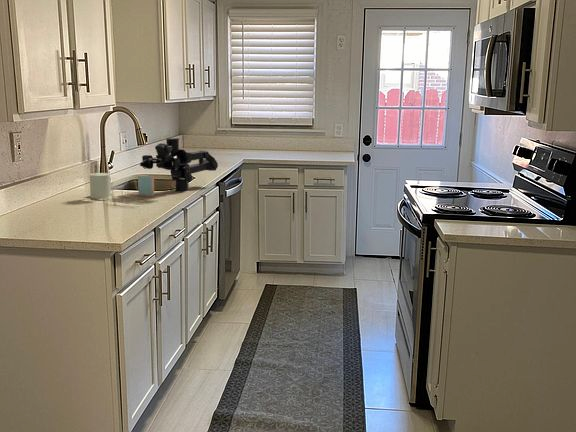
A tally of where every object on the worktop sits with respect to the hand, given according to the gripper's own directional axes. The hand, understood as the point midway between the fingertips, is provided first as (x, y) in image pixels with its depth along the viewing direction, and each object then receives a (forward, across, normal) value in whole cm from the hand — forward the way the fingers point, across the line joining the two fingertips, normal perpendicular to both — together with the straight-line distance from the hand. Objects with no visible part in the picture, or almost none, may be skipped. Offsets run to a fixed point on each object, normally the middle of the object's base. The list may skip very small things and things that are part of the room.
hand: (148, 165), depth 261 cm
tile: (-6, -7, +15) cm, 18 cm away
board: (-2, -7, +16) cm, 18 cm away
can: (+8, -22, +16) cm, 28 cm away
